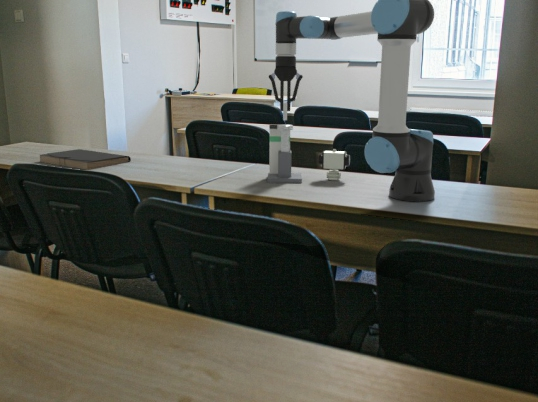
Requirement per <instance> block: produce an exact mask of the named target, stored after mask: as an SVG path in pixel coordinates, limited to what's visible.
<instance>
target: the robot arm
mask: <svg viewBox="0 0 538 402" xmlns="http://www.w3.org/2000/svg"><path fill="white" fill-rule="evenodd" d="M434 18H435V8H434V7H433V4H432V2H431V1H430V0H378V1H376V2H375V4H374V5H373V7H372V10H371V11H366V12H360V13H359V12H358V13H353V14H348V15H347V14H346V15H340V16H334V17H333V16H332V17H322V16H318V15H303V16H297V12H296V11H291V10H290V11H288V10H286V11H278V12H277V13H276V16H275V24H274V25H275V55H276V56H275V69H274V71H273V72H272V73H271V74H269V75H268V79H269V80H270V81H271V82H270V83H271V86H272V90H273V94H274V99H275V101H276V102H279V109H280V112H282V115H283V116H282V117H283V118H282V120H283V121H288V112H291V103H292V102H295V101H296V99H297V98H296V97H297V94H298V89H299V87H300V84H301V83H300V82H301V81H302V79H303V78H304V76H303V74H300V73H299V72H298V70H297V57H296V56H295V55H296V54H297V39H300V40H301V39H309V40H313V39H315V40H320V39H321V40H340V39H343V38H351V37H360V36H369V35H377V38H376V39H377V42H378V43H379V44H380V45H381V57H380V58H381V61H380V78H379V79H380V80H379V100H378V114H377V115H378V117H377V118H378V119H377V125H376V126H374V127H373V128H372V137H371V138H369V140H368V141H367V142H366V143H365V147H364V151H363V152H364V158H365V161H366V162H367V164H368V166H369V167H370V168H371V169H372V170H373V171H375V172H377V173H380V174H384V173H385V174H386V173H388V174H390V173H394V172H395V173H394V174H395V175H394V177H393V178H392V181H391V184H390V186H389V190H388V191H389V192H388V196H389V197H390V198H392V199H395V200H399V201H403V202H404V201H406V202H427V201H432V200H434V199H435V196H436V195H435V193H436V191H435V187H434V183H433V179H432V163H433V149H434V144H435V143H434V134H433V132H432V131H431V130H425V129H424V130H423V129H414V128H413V129H412V128H408V126H407V124H406V123H407V111H408V110H407V107H408V95H409V94H408V93H409V92H408V91H409V80H410V79H409V77H410V61H411V48H412V45H414V43H416V41H417V35H419V34H423V33H425V32H426V31H427V30H428V29H430V27H431V26H432V24H433V22H434ZM275 78H277V79H278V80H279V81H280V87H279V89H280V90H279V93H280V94H278V89H277V85H276V81H275V80H276V79H275ZM294 78H295V79H296V81H295V85H294V89H293V94H292V97H291V90H292V89H291V84H292V82H291V81H293V80H294ZM284 82H287V83H286V84H287V86H286V88H287V89H286V91H287V92H286V99H287V100H286V101H285V102H284V98H285V97H284V94H285V93H284V89H285V87H284V86H285V83H284Z"/></svg>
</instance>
